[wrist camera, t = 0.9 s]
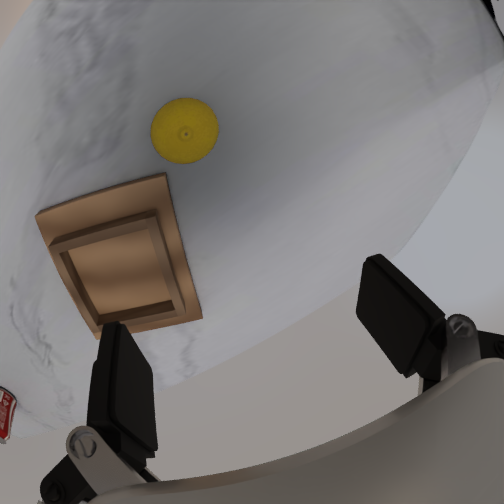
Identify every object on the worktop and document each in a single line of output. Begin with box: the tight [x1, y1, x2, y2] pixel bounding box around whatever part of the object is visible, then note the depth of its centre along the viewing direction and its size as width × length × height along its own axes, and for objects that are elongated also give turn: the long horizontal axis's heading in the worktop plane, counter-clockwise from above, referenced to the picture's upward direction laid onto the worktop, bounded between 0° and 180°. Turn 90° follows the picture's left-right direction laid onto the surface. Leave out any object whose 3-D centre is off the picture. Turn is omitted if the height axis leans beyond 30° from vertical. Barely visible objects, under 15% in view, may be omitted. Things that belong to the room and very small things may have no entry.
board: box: [35, 172, 203, 340], centre depth 27 cm, size 18×15×4 cm
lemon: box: [150, 98, 219, 164], centre depth 20 cm, size 6×6×8 cm
